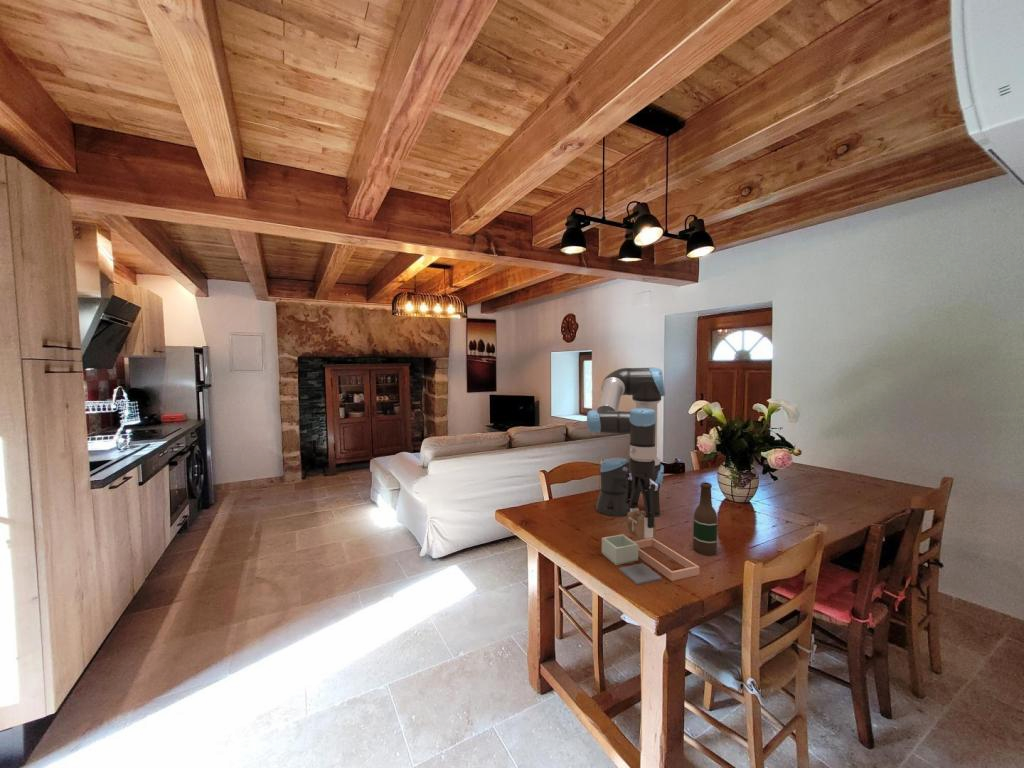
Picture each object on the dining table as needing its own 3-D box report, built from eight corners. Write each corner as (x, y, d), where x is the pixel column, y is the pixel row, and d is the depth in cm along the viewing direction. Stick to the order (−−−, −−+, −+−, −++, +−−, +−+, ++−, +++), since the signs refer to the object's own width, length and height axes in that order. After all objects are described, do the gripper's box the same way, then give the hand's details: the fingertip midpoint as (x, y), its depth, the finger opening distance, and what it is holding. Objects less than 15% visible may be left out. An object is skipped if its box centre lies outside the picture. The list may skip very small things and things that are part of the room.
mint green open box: (601, 553, 133) (601, 537, 133) (622, 549, 136) (622, 534, 136) (616, 565, 125) (616, 548, 125) (638, 560, 128) (638, 544, 128)
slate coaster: (619, 569, 122) (619, 567, 122) (642, 565, 125) (642, 563, 125) (637, 584, 114) (637, 582, 114) (661, 579, 117) (661, 577, 117)
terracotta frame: (628, 549, 136) (628, 542, 136) (652, 544, 139) (652, 537, 139) (671, 581, 116) (672, 572, 116) (699, 574, 119) (699, 566, 119)
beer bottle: (710, 558, 129) (711, 488, 128) (688, 549, 136) (689, 482, 135) (721, 551, 134) (722, 483, 133) (699, 543, 140) (700, 478, 139)
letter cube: (626, 531, 121) (627, 512, 121) (643, 529, 123) (643, 510, 122) (638, 539, 115) (639, 519, 115) (655, 536, 117) (656, 517, 117)
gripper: (613, 453, 126) (613, 523, 127) (653, 467, 108) (652, 548, 109) (633, 451, 128) (632, 520, 129) (674, 465, 110) (673, 544, 111)
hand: (641, 532), depth 119 cm, fingers closed on letter cube, 6 cm apart
